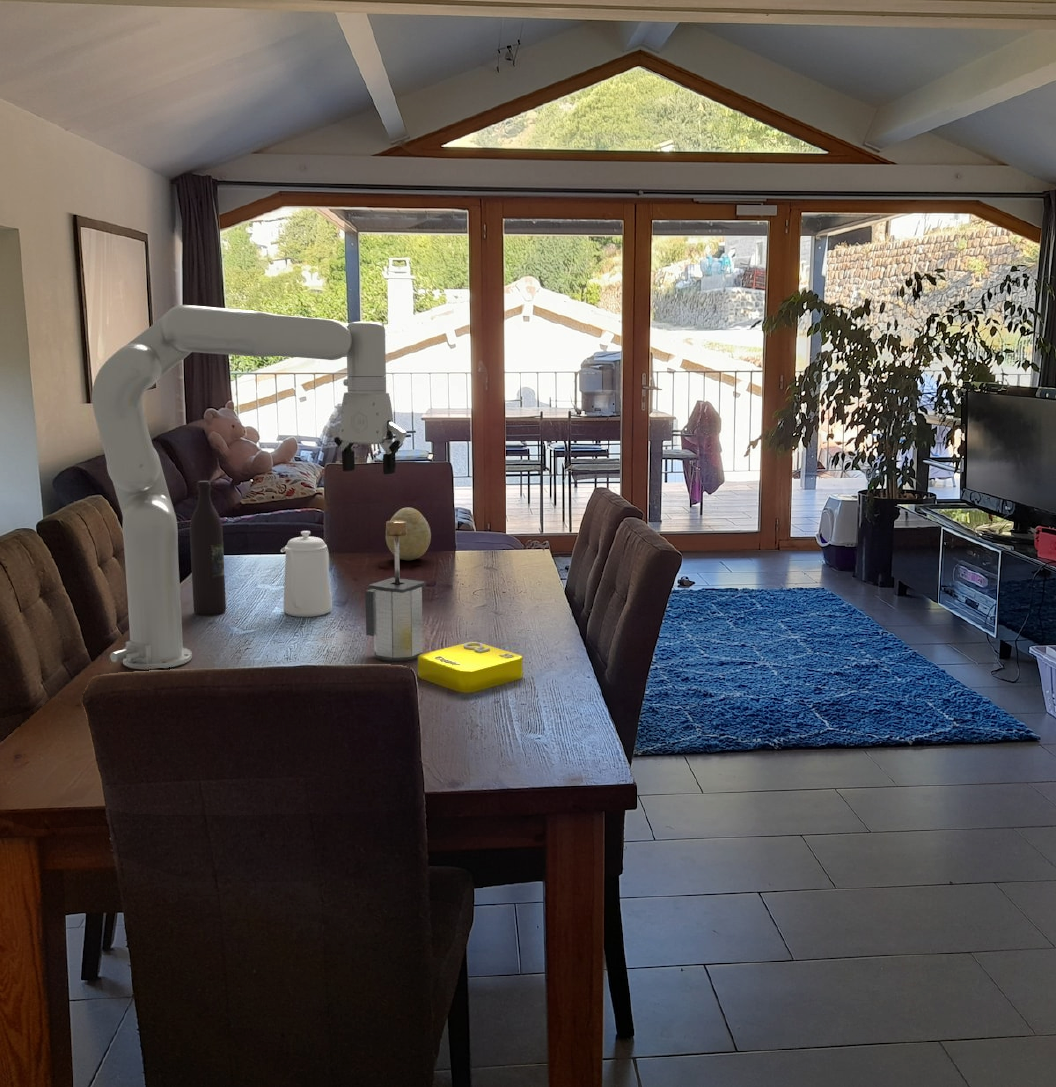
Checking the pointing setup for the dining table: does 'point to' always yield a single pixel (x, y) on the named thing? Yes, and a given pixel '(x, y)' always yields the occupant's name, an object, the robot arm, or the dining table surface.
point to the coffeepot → (306, 577)
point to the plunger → (396, 541)
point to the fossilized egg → (411, 534)
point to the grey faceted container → (395, 619)
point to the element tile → (470, 667)
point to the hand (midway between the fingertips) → (368, 472)
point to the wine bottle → (207, 556)
